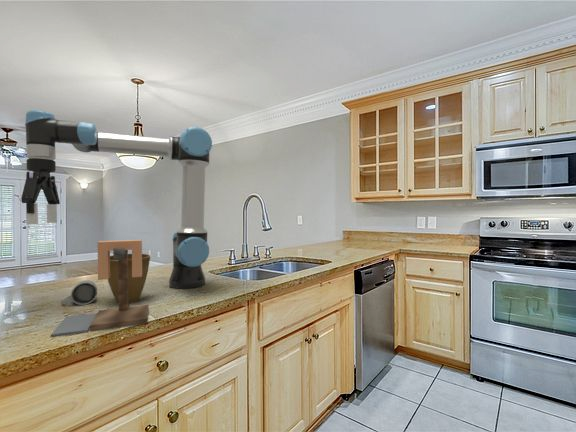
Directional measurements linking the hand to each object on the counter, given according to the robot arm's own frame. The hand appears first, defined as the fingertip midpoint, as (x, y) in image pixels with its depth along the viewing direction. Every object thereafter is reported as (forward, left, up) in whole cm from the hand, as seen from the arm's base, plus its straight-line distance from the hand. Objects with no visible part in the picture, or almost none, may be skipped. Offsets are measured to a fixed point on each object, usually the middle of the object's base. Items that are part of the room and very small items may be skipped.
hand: (42, 223), depth 103 cm
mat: (-14, +23, -28) cm, 39 cm away
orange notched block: (-25, +25, -15) cm, 38 cm away
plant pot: (-25, +2, -28) cm, 38 cm away
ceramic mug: (-10, -2, -28) cm, 30 cm away
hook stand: (-25, +23, -28) cm, 44 cm away
